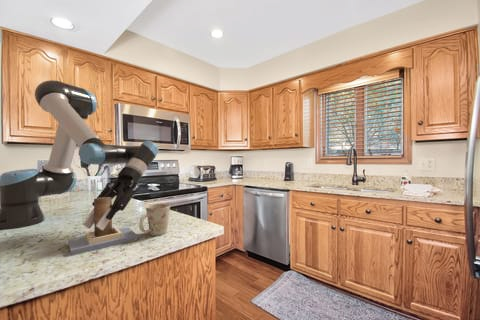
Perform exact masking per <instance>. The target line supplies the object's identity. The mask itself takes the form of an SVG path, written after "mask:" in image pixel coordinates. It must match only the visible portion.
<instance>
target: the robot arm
mask: <svg viewBox="0 0 480 320" xmlns="http://www.w3.org/2000/svg"><path fill="white" fill-rule="evenodd" d="M34 99H35V101H36V103H37V104H38V106H39V107H40V108H41V110H43V111H44V112H47V113H49V114H50V115H51V116H52V117H53V119H54V120H55V121H56V122H57V123H58V124H57V127H56V131H55V136H54V140H53V144H52V147H51V151H50V156H49V157H48V158H49V159H48V163H46V164H44V165H43V166H42V168H41V171H39V170H38V169H37V168H28V169H26V168H25V169H18V170H10V171H6V172H3V173H1V174H0V230H5V229H6V230H8V229H9V230H10V229H16V228H23V227H28V226H29V227H30V226H33V225H36V224H39V223H43V221H44V220H45V215H44V212H43V210H42V209H41V207H40V204H39V197H47V196H53V195H61V194H65V193H69V192H71V191H72V190H73V189H74V188H75V186H76V185H77V175H76V173H75V172H74V169H73V168H72V166H71V165H72V163H73V159H74V155H75V150H76V148H77V147H78V148H79V149H78V156H79V160H80V161H81V162H82V163H83V164H85V165H95V166H97V165H110V164H111V165H113V164H114V165H115V164H116V165H117V164H124V166H123V167H122V169H121V170H120V171H119V173H117V179H116V180H115V181H114V182H113V183H111V182H107V183H106V184H105V187H104V188H103V190H102V191H101V192H100V193H99V194H98V196H97V197H96V198H101V197H112V200H113V199H114V198H115V199H114V200H113V203H112V205H111V206H110V207H111V208H112V209H111V208H108V209H107V211H106V212H105V213H104V215H103V216H102V218H101V219H100V220H99V222H98V223H97V225H96V227H98V228H99V229H100V230H104V228H105V227H106V225H107V224H108V222H109V221H110V220H111V219H112V220H113V218H114V216H115V215H116V213H118V212H119V211H124V210H125V208H126V207H127V206H128V205H129V202H130V201H131V200H132V199H133V196H134V195H135V194H136V192H138V190H139V189H140V187H139V186H138V183H139V182H140V180H141V179H142V177H143V176H144V174H145V173H146V171H147V170H148V168H149V167H150V166H151V164H152V162H153V161H154V160H155V159H156V157H157V155H158V153H159V151H160V150H159V147H158V145H157V143H155V142H153V141H150V140H145V141H143V142H142V143H141V144H140V145H133V146H132V145H118V144H117V145H116V144H115V145H113V144H106V143H104V141H103V140H102V139H101V138H100V137H99V135H97V133H95V131H94V130H93V129H92V128H91V127H90V126H89V125H88V124H87V122H86V120H88V117H89V116H91V115H93V114H94V113H95V112H96V111H97V108H98V102H97V101H98V100H97V99H96V96H95V94H94V93H93V92H91V91H90V90H87V89H85V88H82V87H79V86H77V85H72V84H69V83H66V82H62V81H59V80H55V79H54V80H53V79H51V80H50V79H49V80H45V81H42V82H41V83H39V84H38V85H37V86H36V87H35V90H34ZM91 205H92V206H93V207H94V201H93V202H92V203H91ZM93 225H94V208H93V209H92V210H91V211H90V213H89V214H88V217H86V219H85V220H84V222H82V226H84V227H85V228H87V229H91V228H92V227H93Z"/></svg>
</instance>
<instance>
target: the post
mask: <svg viewBox="0 0 480 320" xmlns="http://www.w3.org/2000/svg"><path fill="white" fill-rule="evenodd" d="M112 200H113V199H112V197H101V198H97V197H95V198H94V199H93V202H94V206H93V209H94V224H93V225H94V228H93V229H94V230H93V231H94V233H95V237H101V236H106V235H110V234H112V227H113V218H112V219H111V220H110V221H109V222H108V224H107V225H106V227H105V228H104V230H100V229H99V228H98V227H96V225H97V223H98V222H99V220H100V219H101V218H102V216H103V215H104V213H105V212H106V211H107V209H108V208H111V207H110V206H111V205H113V203H112V202H113V201H112ZM111 209H112V208H111Z"/></svg>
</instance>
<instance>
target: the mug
mask: <svg viewBox="0 0 480 320" xmlns="http://www.w3.org/2000/svg"><path fill="white" fill-rule="evenodd" d="M145 209H146V213H144V214H143V215H142V216H141V218H140V220H139V224H138V225H139V226H138V227H139V230H140V232H142V233H143V234H147V233H149V235H151V236H161V235H164V234H167V233H168V229H169V228H168V227H169V218H170V209H171V205H170V204H169V203H156V204H150V205H147V206H146V207H145ZM146 218H147V223H148V229H147V230H146V229H145V228H144V226H143V225H144V220H145V219H146Z"/></svg>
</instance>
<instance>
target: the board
mask: <svg viewBox="0 0 480 320" xmlns="http://www.w3.org/2000/svg"><path fill="white" fill-rule="evenodd" d="M84 234H85V235H81V236H77V237H71V238H68V239H67V240H68V241H67V243H68V244H67V245H68V249H69V252H70V256H76V255H79V254H83V253H88V252H92V251H96V250H101V249H104V248H109V247H112V246H118V245H120V244H126V243H129V242H133V241H137V240H138V239H139V236H138V233H136V232H135V231H133V229H131V228H130V227H129V226H126V227H122V228H118V227H117V226H112V234H110V235H106V236H101V237H95V233H94V230H92V231H85V233H84Z"/></svg>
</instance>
